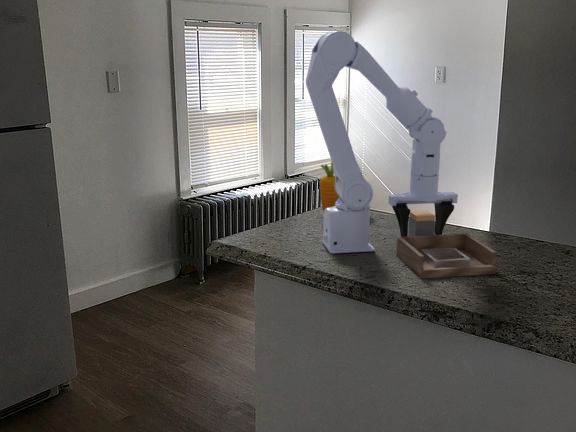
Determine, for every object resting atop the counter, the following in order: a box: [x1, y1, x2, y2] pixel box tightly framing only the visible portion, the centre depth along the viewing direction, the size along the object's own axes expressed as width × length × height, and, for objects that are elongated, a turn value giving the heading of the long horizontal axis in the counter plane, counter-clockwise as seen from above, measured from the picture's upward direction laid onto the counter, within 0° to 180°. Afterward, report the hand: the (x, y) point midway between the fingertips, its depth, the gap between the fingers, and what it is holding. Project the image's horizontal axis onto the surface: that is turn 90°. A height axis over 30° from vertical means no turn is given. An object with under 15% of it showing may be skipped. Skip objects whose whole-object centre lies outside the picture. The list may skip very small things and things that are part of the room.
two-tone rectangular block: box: [408, 210, 435, 236], centre depth 131 cm, size 4×4×7 cm
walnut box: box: [396, 232, 498, 279], centre depth 120 cm, size 15×13×4 cm
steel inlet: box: [420, 247, 471, 268], centre depth 120 cm, size 7×7×2 cm
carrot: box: [319, 160, 340, 213], centre depth 148 cm, size 5×5×15 cm
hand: (420, 236), depth 132 cm, fingers open, 7 cm apart
